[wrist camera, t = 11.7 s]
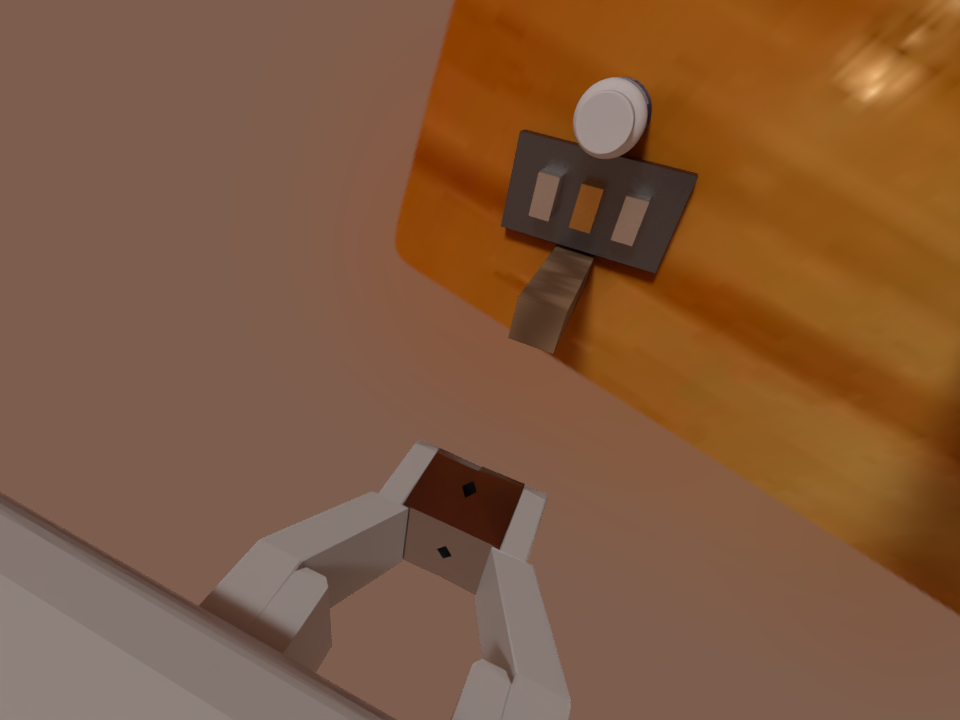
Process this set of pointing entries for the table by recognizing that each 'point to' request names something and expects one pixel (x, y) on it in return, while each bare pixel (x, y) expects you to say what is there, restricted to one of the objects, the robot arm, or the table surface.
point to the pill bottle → (612, 117)
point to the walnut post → (551, 298)
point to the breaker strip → (618, 182)
